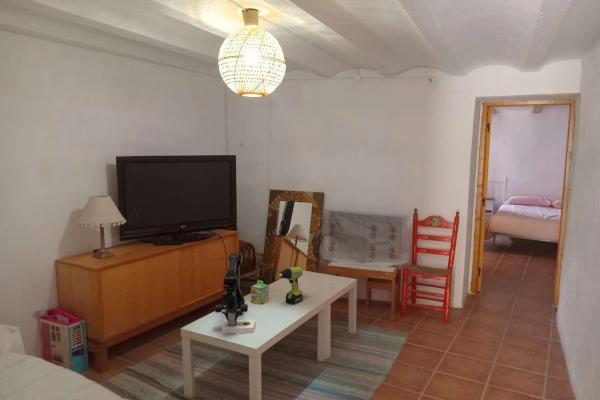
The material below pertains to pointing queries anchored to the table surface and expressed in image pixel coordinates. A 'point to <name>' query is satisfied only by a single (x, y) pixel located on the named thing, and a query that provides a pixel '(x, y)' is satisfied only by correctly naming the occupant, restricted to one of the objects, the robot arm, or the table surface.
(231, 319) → the square peg
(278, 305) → the table surface
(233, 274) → the robot arm
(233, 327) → the socket plate
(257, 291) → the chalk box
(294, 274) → the cordless drill
